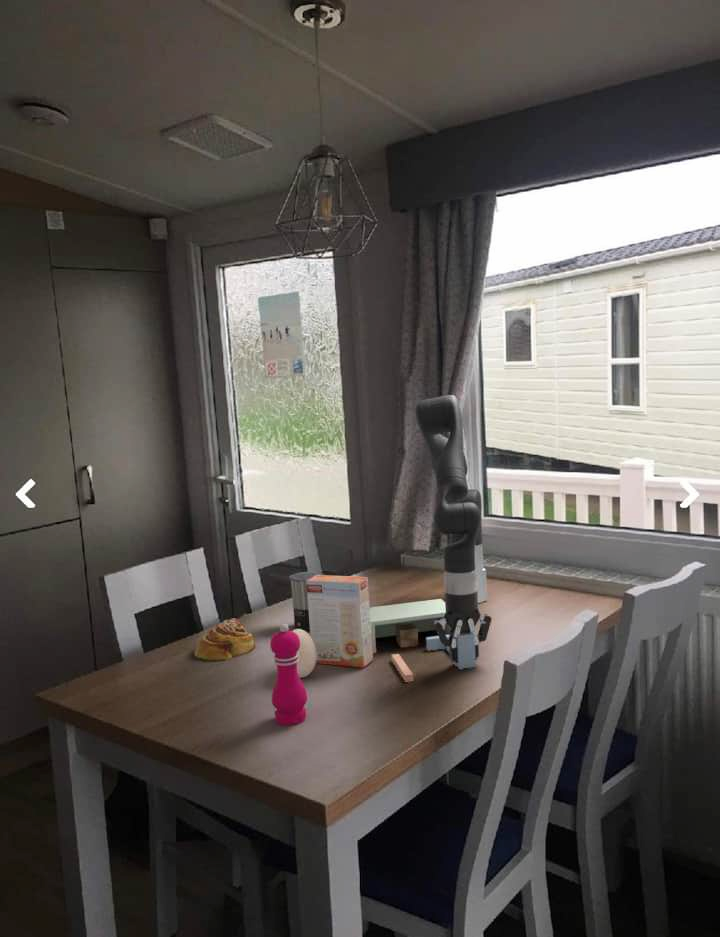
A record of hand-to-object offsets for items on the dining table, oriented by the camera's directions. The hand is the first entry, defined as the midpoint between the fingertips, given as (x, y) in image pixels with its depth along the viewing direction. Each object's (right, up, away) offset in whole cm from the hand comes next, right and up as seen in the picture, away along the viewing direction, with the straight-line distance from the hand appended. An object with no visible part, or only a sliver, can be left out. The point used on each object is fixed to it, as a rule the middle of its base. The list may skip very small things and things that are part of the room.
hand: (464, 660), depth 186 cm
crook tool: (-3, -1, +6) cm, 6 cm away
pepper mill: (-38, -7, -23) cm, 45 cm away
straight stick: (-14, -3, -1) cm, 15 cm away
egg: (-38, -4, 0) cm, 38 cm away
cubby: (-12, 0, +20) cm, 23 cm away
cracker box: (-28, -2, +8) cm, 30 cm away
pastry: (-59, -3, +21) cm, 63 cm away
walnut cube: (-12, 0, +17) cm, 21 cm away
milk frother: (-35, +1, +38) cm, 51 cm away
